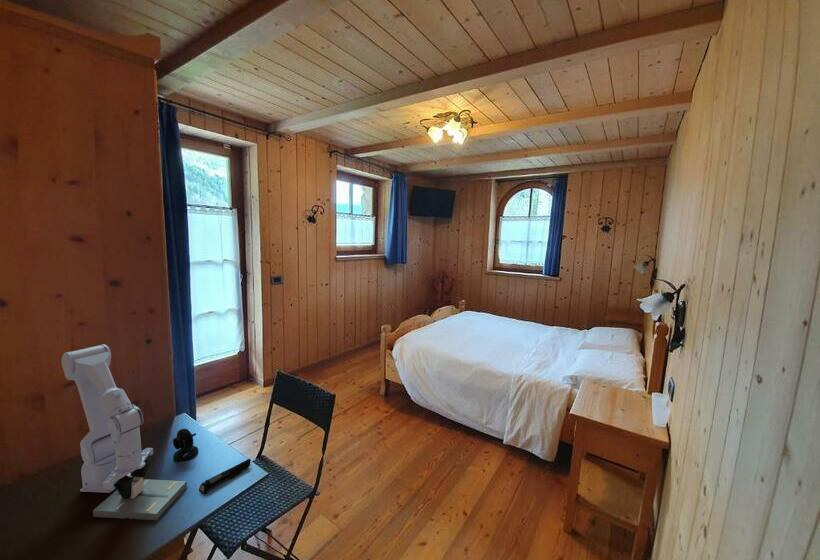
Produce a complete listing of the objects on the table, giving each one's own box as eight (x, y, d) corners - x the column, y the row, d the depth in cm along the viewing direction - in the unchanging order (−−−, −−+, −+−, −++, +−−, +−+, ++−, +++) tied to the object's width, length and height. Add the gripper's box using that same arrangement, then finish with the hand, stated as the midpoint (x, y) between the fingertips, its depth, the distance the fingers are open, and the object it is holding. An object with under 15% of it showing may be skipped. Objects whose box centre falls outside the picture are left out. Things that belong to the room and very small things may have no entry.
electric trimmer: (253, 469, 112) (253, 460, 111) (203, 496, 99) (202, 487, 99) (247, 464, 114) (247, 456, 114) (198, 490, 102) (197, 481, 101)
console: (93, 516, 91) (92, 510, 91) (131, 484, 103) (130, 478, 103) (156, 520, 91) (156, 513, 90) (186, 486, 102) (186, 480, 102)
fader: (120, 497, 95) (119, 484, 94) (130, 488, 98) (129, 476, 98) (134, 498, 95) (133, 485, 94) (144, 489, 98) (143, 476, 98)
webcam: (168, 457, 115) (166, 431, 114) (190, 445, 122) (189, 421, 120) (180, 465, 112) (179, 438, 110) (203, 452, 118) (201, 427, 117)
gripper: (119, 468, 87) (123, 513, 89) (161, 435, 102) (164, 474, 103) (93, 467, 87) (98, 512, 89) (139, 434, 102) (142, 473, 104)
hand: (132, 492), depth 96 cm, fingers closed on fader, 3 cm apart
